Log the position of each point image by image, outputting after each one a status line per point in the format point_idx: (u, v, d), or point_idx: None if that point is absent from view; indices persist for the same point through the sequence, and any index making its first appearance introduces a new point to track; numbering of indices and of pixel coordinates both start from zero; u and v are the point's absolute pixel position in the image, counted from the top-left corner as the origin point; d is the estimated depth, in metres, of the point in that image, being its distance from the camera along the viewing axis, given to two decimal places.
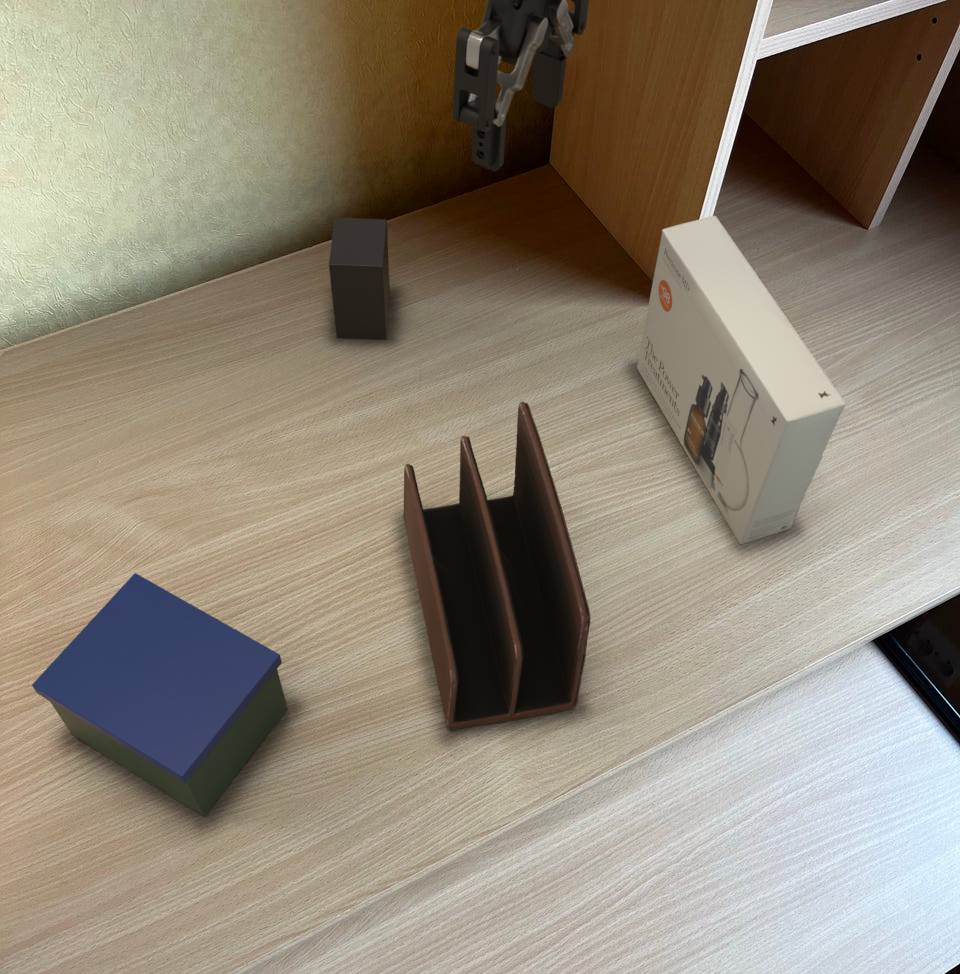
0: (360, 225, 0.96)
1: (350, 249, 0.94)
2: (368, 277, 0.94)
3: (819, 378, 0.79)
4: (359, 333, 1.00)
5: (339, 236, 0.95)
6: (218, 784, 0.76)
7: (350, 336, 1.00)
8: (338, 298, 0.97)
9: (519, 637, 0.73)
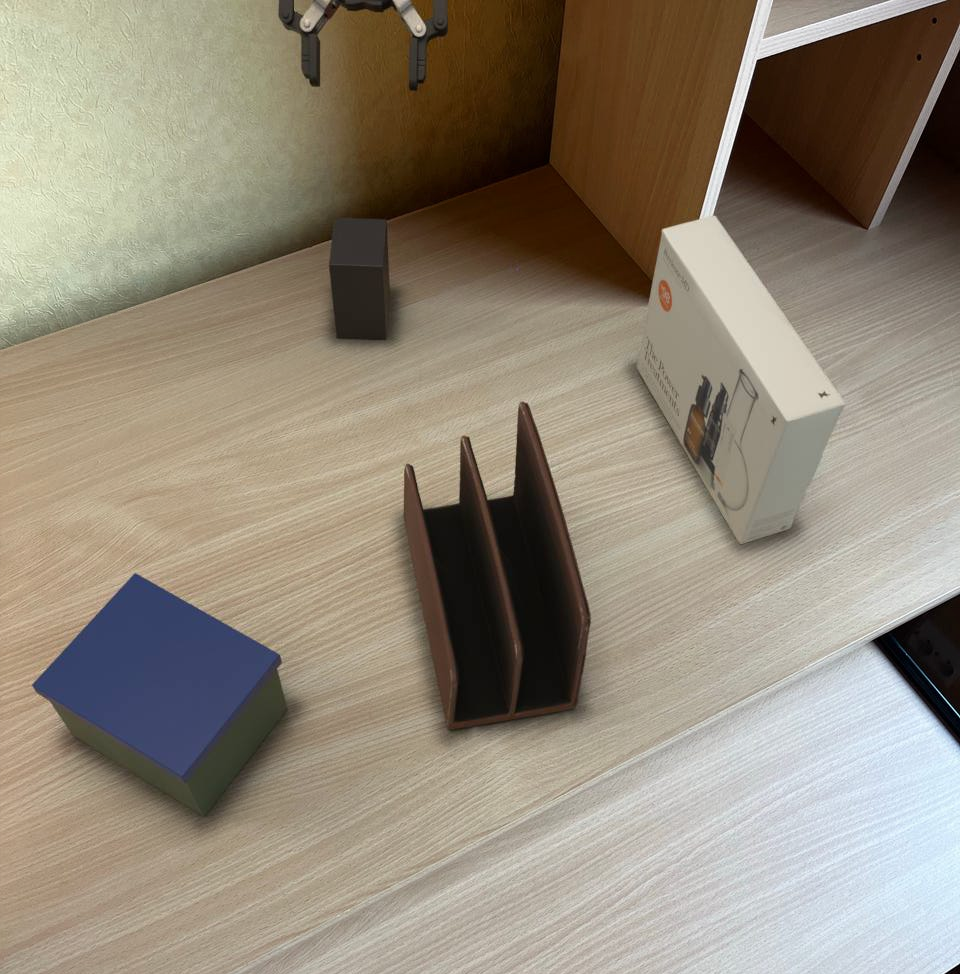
0: (360, 225, 0.96)
1: (350, 249, 0.94)
2: (368, 277, 0.94)
3: (819, 378, 0.79)
4: (359, 333, 1.00)
5: (339, 236, 0.95)
6: (218, 784, 0.76)
7: (350, 336, 1.00)
8: (338, 298, 0.97)
9: (519, 637, 0.73)
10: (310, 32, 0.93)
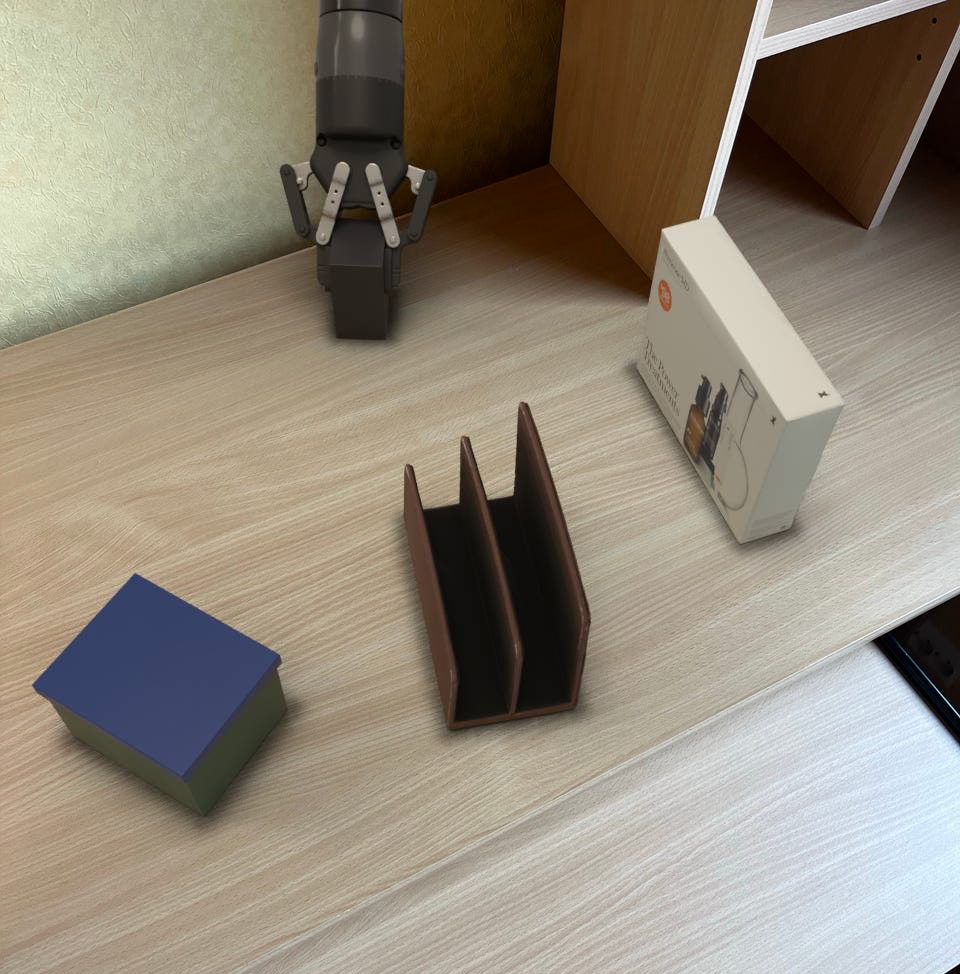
0: (360, 225, 0.96)
1: (350, 249, 0.94)
2: (368, 277, 0.94)
3: (818, 378, 0.79)
4: (359, 333, 1.00)
5: (339, 236, 0.95)
6: (218, 784, 0.76)
7: (349, 336, 1.00)
8: (338, 298, 0.97)
9: (519, 637, 0.73)
10: (326, 244, 0.95)
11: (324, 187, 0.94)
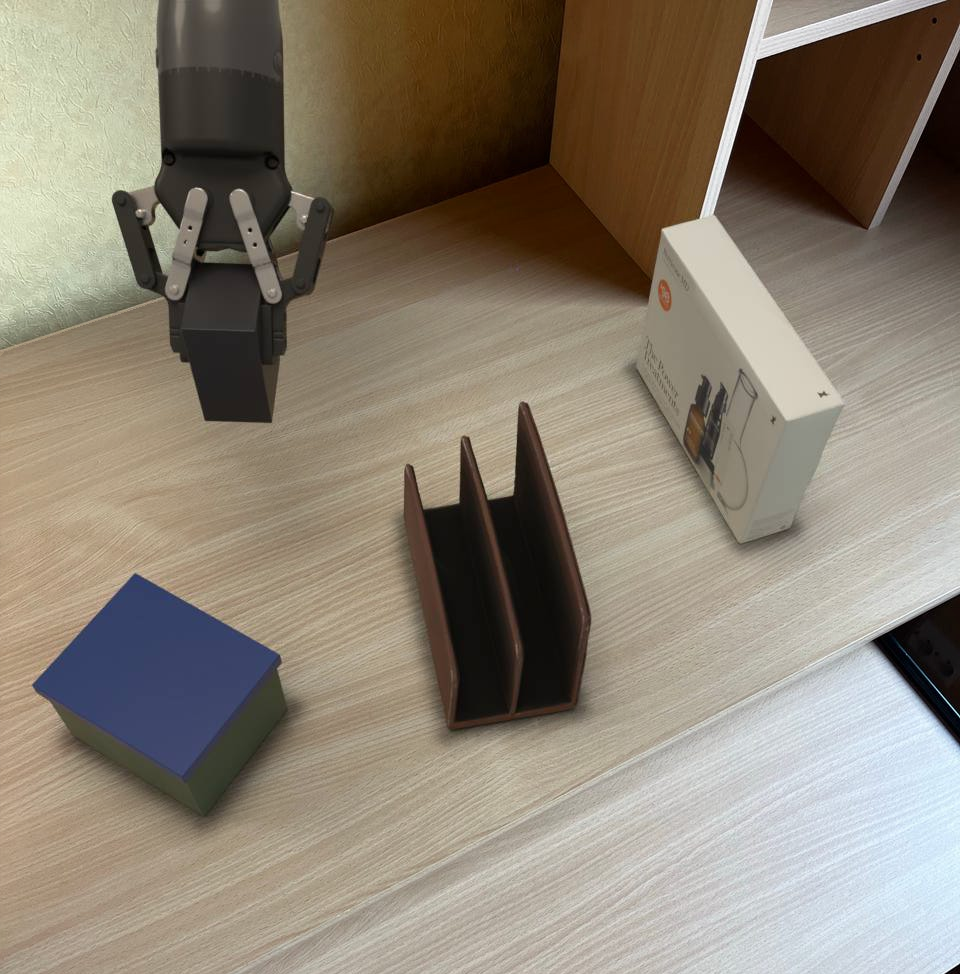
0: (228, 272, 0.70)
1: (212, 307, 0.68)
2: (236, 344, 0.69)
3: (818, 378, 0.79)
4: (235, 415, 0.74)
5: (198, 289, 0.69)
6: (218, 784, 0.76)
7: (223, 419, 0.75)
8: (199, 372, 0.71)
9: (520, 637, 0.73)
10: (180, 299, 0.70)
11: (175, 222, 0.68)
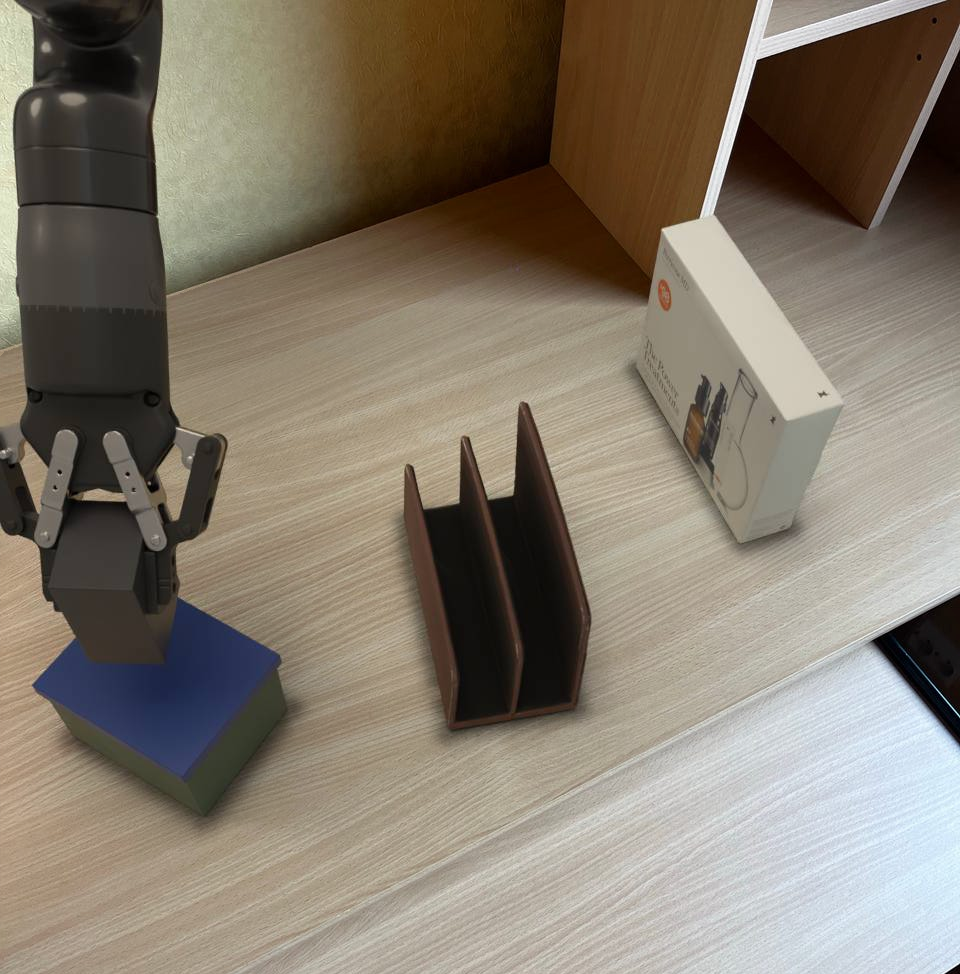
0: (107, 513, 0.62)
1: (85, 559, 0.60)
2: (114, 601, 0.60)
3: (818, 377, 0.79)
4: (123, 658, 0.66)
5: (72, 535, 0.61)
6: (218, 784, 0.76)
7: (110, 661, 0.67)
8: (76, 623, 0.63)
9: (520, 637, 0.73)
10: (52, 545, 0.61)
11: (44, 462, 0.60)
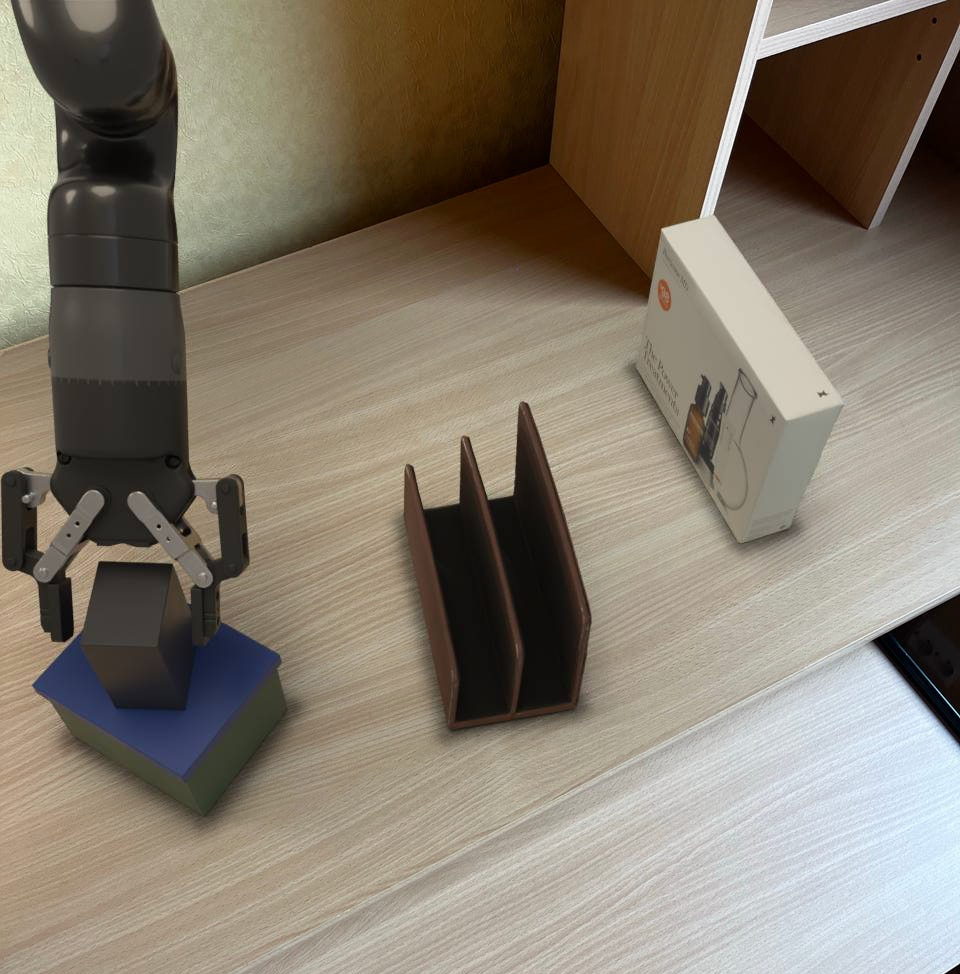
0: (133, 574, 0.67)
1: (114, 617, 0.66)
2: (140, 656, 0.66)
3: (818, 377, 0.79)
4: (146, 704, 0.71)
5: (101, 594, 0.66)
6: (218, 784, 0.76)
7: (134, 707, 0.72)
8: (104, 675, 0.68)
9: (520, 637, 0.73)
10: (50, 580, 0.66)
11: None
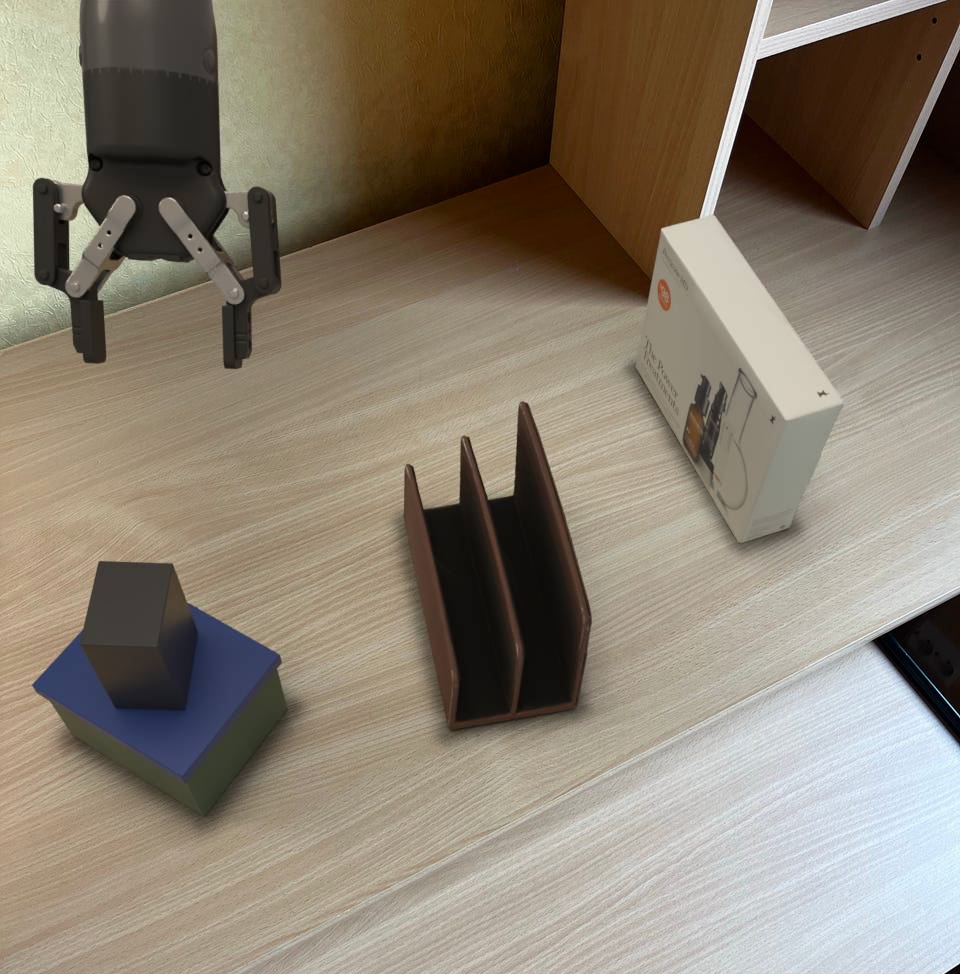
0: (133, 574, 0.67)
1: (114, 617, 0.66)
2: (140, 656, 0.66)
3: (818, 377, 0.79)
4: (146, 704, 0.71)
5: (101, 594, 0.66)
6: (218, 784, 0.76)
7: (134, 707, 0.72)
8: (104, 675, 0.68)
9: (520, 637, 0.73)
10: (82, 296, 0.66)
11: None
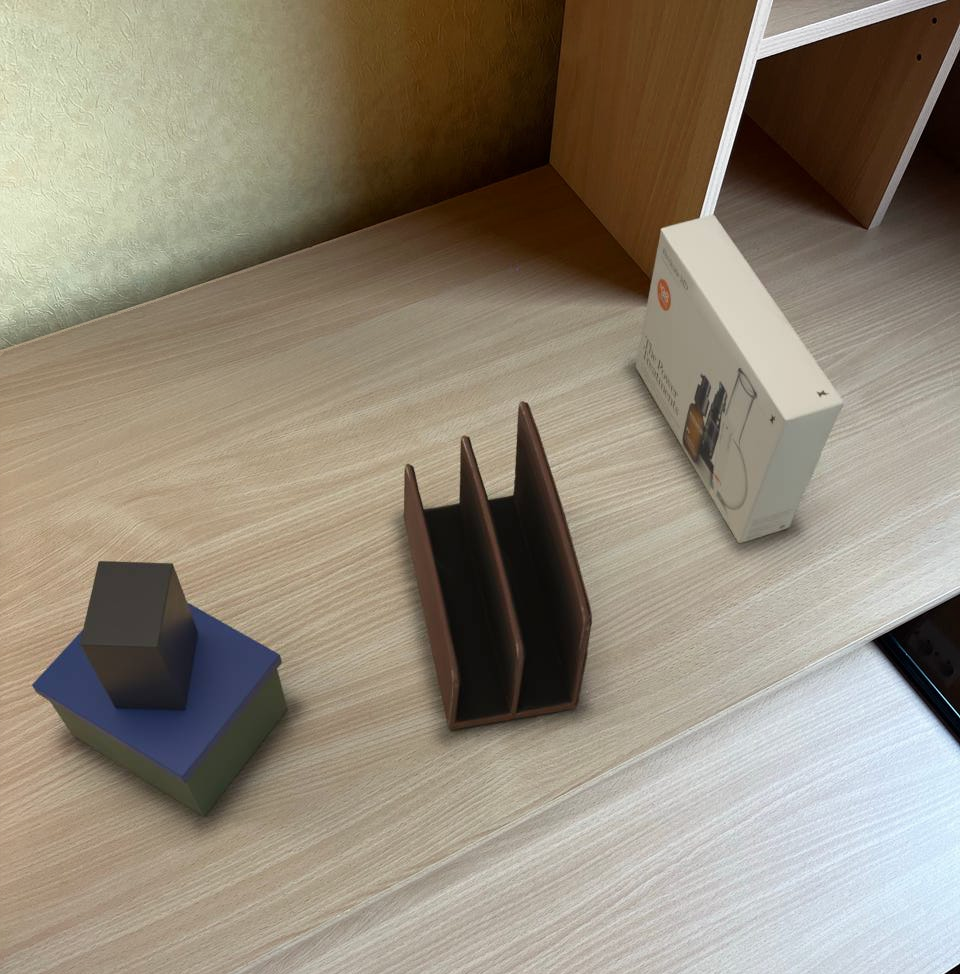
0: (133, 574, 0.67)
1: (114, 617, 0.66)
2: (140, 656, 0.66)
3: (817, 377, 0.79)
4: (146, 704, 0.71)
5: (101, 594, 0.66)
6: (218, 784, 0.76)
7: (134, 707, 0.72)
8: (104, 675, 0.68)
9: (521, 637, 0.73)
10: None
11: None
